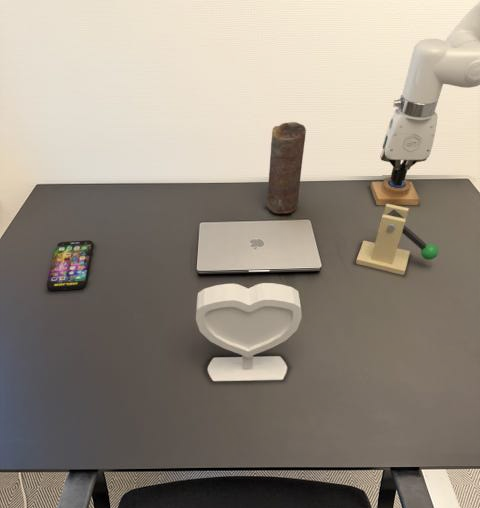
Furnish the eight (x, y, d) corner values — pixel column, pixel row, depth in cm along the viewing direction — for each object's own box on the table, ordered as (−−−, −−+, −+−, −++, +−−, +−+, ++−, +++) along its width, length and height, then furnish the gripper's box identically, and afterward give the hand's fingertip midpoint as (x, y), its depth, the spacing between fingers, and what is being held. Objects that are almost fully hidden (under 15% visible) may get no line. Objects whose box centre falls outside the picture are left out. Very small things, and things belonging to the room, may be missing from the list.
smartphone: (93, 239, 103) (85, 285, 93) (94, 243, 104) (86, 289, 94) (57, 242, 103) (44, 288, 92) (58, 245, 103) (46, 291, 93)
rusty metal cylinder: (302, 214, 112) (311, 132, 97) (274, 220, 110) (279, 138, 95) (289, 198, 116) (296, 117, 102) (261, 203, 115) (265, 122, 100)
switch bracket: (408, 255, 101) (424, 208, 92) (403, 275, 97) (419, 227, 88) (362, 244, 104) (373, 198, 95) (355, 263, 99) (366, 216, 91)
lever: (429, 256, 97) (442, 247, 95) (427, 265, 95) (440, 257, 93) (383, 216, 95) (395, 206, 92) (381, 224, 93) (393, 215, 90)
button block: (409, 187, 120) (413, 175, 117) (417, 205, 114) (421, 192, 112) (370, 187, 120) (373, 175, 117) (376, 205, 114) (379, 192, 112)
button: (401, 185, 117) (402, 178, 116) (404, 192, 114) (406, 186, 113) (386, 185, 117) (388, 178, 116) (389, 192, 114) (391, 186, 113)
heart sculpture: (201, 381, 78) (193, 304, 65) (202, 357, 82) (195, 280, 69) (294, 379, 78) (305, 302, 65) (291, 356, 82) (300, 278, 69)
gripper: (386, 113, 98) (368, 190, 112) (457, 113, 98) (431, 191, 112) (379, 98, 104) (363, 174, 117) (446, 99, 104) (422, 174, 117)
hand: (396, 182), depth 114 cm, fingers closed
